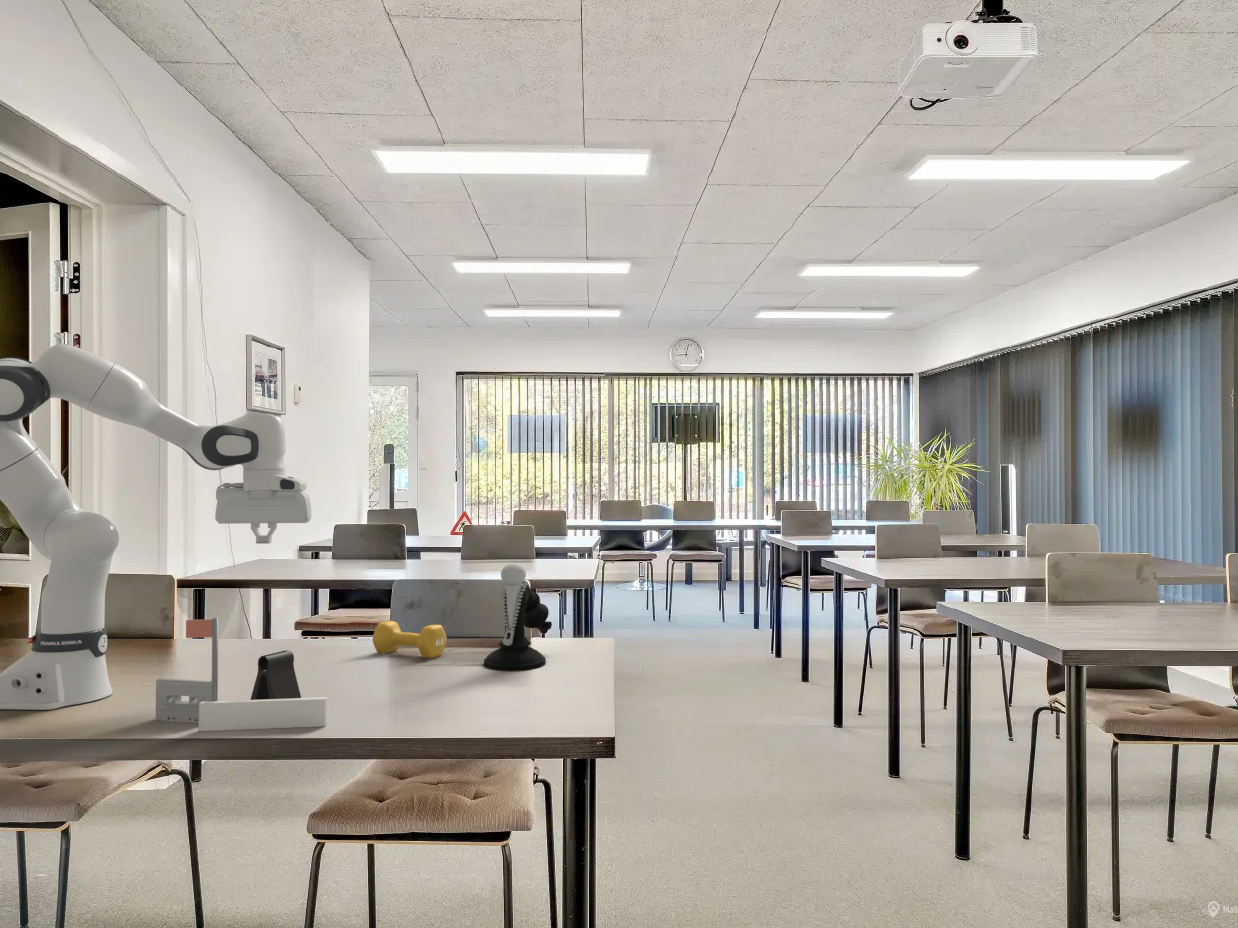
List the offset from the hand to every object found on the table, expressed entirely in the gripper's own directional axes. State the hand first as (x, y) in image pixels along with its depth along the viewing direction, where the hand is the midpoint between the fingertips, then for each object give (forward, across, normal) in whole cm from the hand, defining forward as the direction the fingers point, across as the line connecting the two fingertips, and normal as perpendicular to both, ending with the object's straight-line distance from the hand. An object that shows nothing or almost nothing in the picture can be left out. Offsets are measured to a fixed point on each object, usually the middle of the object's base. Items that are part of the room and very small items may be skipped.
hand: (263, 543), depth 184 cm
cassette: (+32, -5, -30) cm, 44 cm away
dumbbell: (+31, +30, +24) cm, 50 cm away
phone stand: (+31, +11, -29) cm, 44 cm away
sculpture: (+31, +59, +13) cm, 68 cm away
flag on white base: (+31, +9, -31) cm, 45 cm away
